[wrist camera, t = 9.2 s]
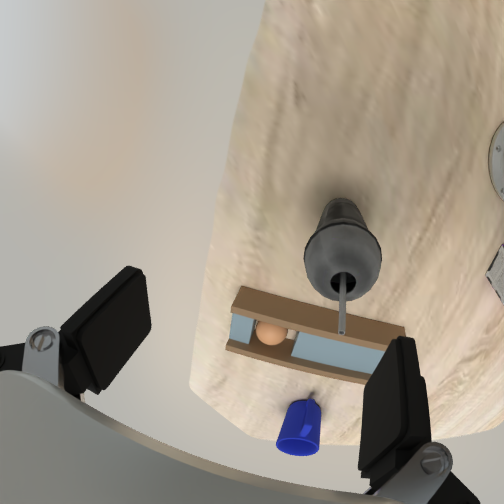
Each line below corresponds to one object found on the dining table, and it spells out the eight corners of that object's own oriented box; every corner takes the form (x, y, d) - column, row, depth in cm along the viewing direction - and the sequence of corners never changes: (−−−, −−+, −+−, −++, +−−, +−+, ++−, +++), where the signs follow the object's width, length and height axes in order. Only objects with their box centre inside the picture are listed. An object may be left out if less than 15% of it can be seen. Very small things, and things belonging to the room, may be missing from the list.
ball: (273, 303, 46) (297, 319, 44) (267, 325, 49) (289, 341, 46) (251, 315, 43) (276, 334, 40) (247, 338, 45) (270, 356, 43)
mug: (335, 390, 51) (331, 434, 43) (318, 420, 57) (312, 458, 49) (294, 381, 53) (284, 425, 44) (282, 412, 59) (272, 451, 50)
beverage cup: (370, 187, 34) (402, 273, 17) (369, 242, 37) (386, 357, 20) (311, 187, 36) (286, 272, 19) (313, 241, 39) (291, 354, 22)
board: (404, 327, 41) (408, 349, 37) (380, 365, 46) (381, 387, 42) (241, 285, 45) (231, 305, 41) (234, 329, 50) (225, 349, 46)
